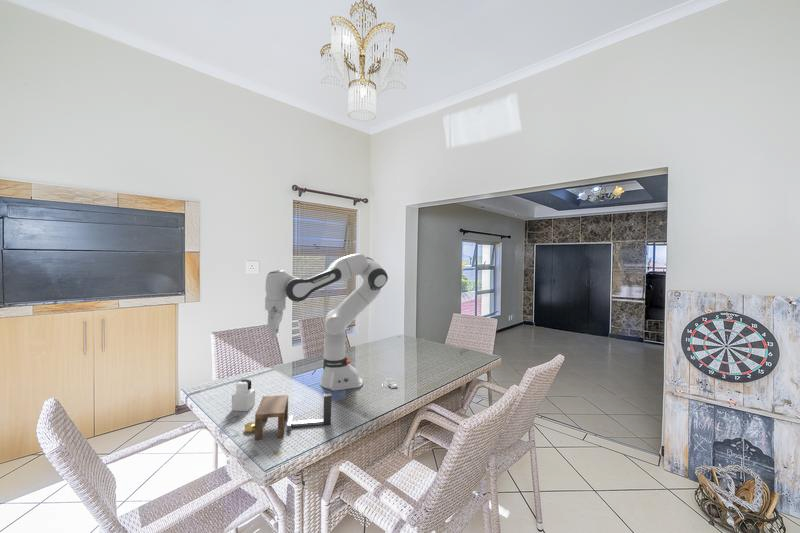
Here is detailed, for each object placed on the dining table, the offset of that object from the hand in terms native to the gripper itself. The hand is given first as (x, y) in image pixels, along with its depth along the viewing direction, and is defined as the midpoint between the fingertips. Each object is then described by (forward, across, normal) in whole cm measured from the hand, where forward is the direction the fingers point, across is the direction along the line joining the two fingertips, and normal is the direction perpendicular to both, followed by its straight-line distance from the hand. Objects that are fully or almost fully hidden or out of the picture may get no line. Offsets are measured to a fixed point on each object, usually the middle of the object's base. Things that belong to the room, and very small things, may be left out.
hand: (274, 335), depth 154 cm
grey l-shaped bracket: (+31, -24, -17) cm, 43 cm away
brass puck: (+31, -24, +5) cm, 40 cm away
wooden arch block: (+31, -24, -3) cm, 39 cm away
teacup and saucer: (+32, +9, -56) cm, 65 cm away
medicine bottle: (+31, -4, +12) cm, 34 cm away
